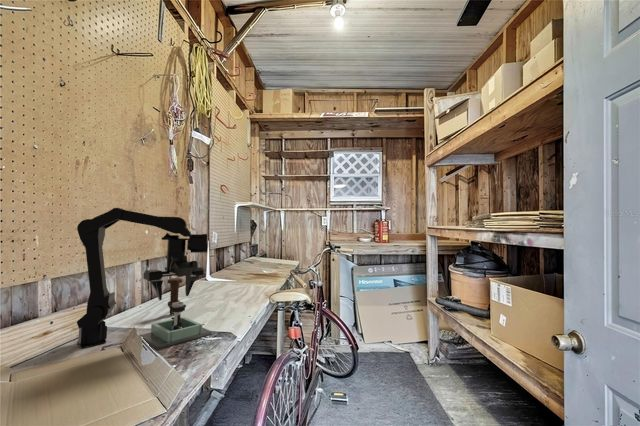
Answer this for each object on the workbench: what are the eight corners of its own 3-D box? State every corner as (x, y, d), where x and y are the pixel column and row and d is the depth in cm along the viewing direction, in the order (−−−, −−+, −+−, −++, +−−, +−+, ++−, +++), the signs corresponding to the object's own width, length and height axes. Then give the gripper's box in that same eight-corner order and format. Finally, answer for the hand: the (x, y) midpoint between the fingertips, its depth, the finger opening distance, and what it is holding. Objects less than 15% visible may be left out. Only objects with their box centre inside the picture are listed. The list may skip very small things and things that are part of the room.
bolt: (182, 314, 129) (183, 279, 130) (170, 316, 126) (171, 280, 127) (176, 311, 133) (178, 277, 134) (164, 313, 130) (166, 278, 131)
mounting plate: (157, 349, 92) (157, 345, 92) (139, 337, 101) (140, 334, 101) (211, 334, 106) (211, 331, 106) (191, 325, 115) (191, 322, 115)
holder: (168, 342, 95) (168, 332, 95) (150, 332, 104) (151, 323, 104) (202, 333, 104) (202, 324, 104) (183, 325, 112) (184, 316, 113)
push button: (180, 336, 101) (181, 306, 101) (163, 336, 100) (165, 306, 101) (187, 329, 107) (188, 301, 108) (171, 329, 107) (172, 301, 107)
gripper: (157, 255, 94) (154, 307, 93) (212, 253, 108) (210, 297, 107) (143, 253, 101) (141, 300, 100) (197, 251, 115) (195, 292, 114)
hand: (174, 297), depth 105 cm, fingers open, 9 cm apart
